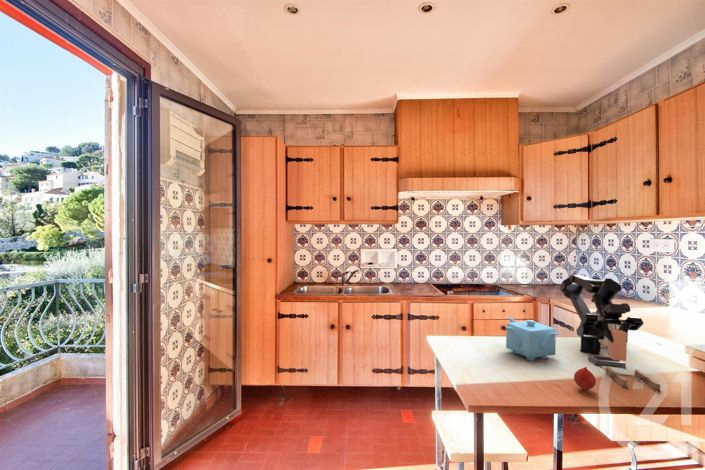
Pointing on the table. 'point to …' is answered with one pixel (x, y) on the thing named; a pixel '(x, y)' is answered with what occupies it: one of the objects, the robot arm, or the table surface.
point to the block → (617, 345)
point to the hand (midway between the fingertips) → (619, 342)
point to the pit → (606, 361)
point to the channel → (638, 374)
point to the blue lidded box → (530, 339)
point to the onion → (584, 379)
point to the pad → (618, 370)
